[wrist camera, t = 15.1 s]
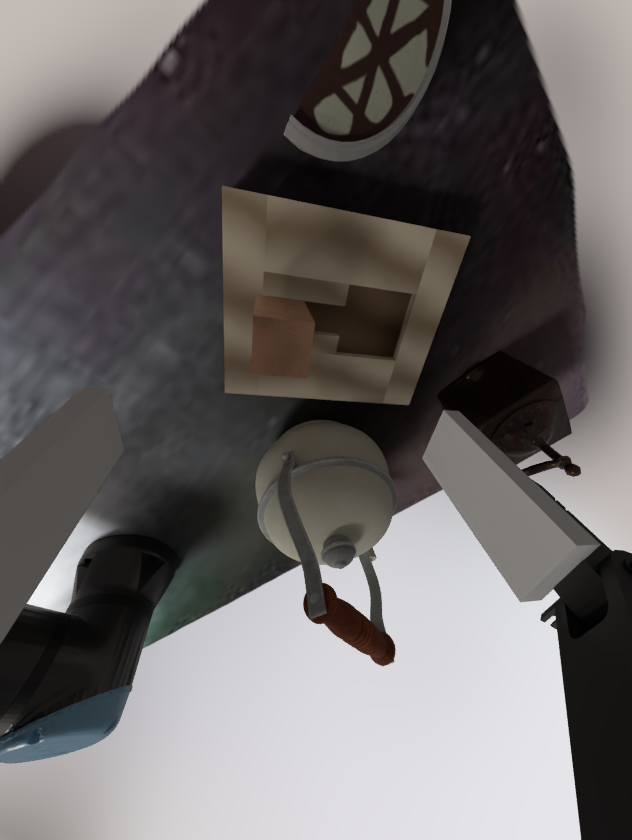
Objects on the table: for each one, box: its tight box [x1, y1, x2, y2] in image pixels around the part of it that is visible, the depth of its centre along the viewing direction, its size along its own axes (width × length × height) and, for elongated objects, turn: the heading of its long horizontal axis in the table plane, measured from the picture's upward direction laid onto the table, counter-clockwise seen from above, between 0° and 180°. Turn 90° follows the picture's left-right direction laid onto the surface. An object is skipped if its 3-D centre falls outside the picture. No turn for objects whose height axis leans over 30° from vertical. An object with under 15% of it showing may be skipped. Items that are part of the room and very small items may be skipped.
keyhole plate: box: [222, 186, 471, 405], centre depth 31 cm, size 18×22×5 cm
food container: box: [283, 0, 452, 161], centre depth 21 cm, size 12×6×10 cm, turn 142°
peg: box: [251, 295, 315, 379], centre depth 25 cm, size 5×5×14 cm
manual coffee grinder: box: [438, 351, 581, 477], centre depth 36 cm, size 16×11×18 cm
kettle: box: [256, 420, 398, 666], centre depth 36 cm, size 25×18×25 cm
